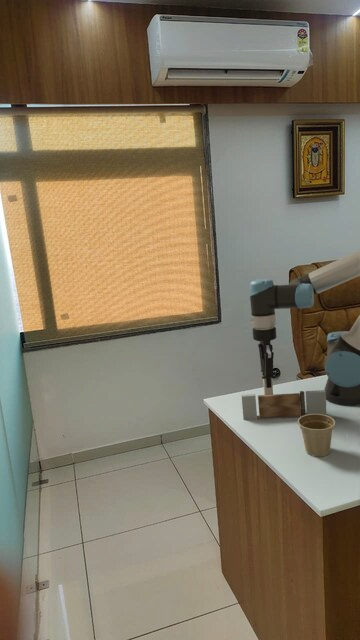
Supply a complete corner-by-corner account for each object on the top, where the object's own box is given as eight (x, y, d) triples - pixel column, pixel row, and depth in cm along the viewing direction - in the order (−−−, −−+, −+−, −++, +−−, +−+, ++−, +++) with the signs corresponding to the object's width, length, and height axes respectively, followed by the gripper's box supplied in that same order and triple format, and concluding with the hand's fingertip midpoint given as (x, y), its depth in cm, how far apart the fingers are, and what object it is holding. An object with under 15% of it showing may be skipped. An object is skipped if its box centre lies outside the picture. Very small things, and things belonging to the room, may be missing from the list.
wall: (325, 413, 132) (324, 389, 131) (326, 416, 130) (325, 392, 128) (243, 417, 136) (241, 394, 134) (243, 420, 133) (241, 397, 132)
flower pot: (312, 464, 105) (310, 432, 103) (292, 447, 114) (290, 418, 112) (344, 455, 107) (343, 424, 106) (322, 439, 116) (320, 411, 115)
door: (305, 413, 133) (303, 391, 131) (306, 417, 130) (305, 393, 129) (259, 416, 135) (257, 393, 133) (259, 419, 132) (258, 396, 131)
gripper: (249, 324, 141) (254, 389, 145) (256, 332, 128) (261, 404, 132) (271, 322, 141) (275, 387, 145) (280, 330, 128) (284, 401, 132)
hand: (268, 395), depth 139 cm, fingers closed
